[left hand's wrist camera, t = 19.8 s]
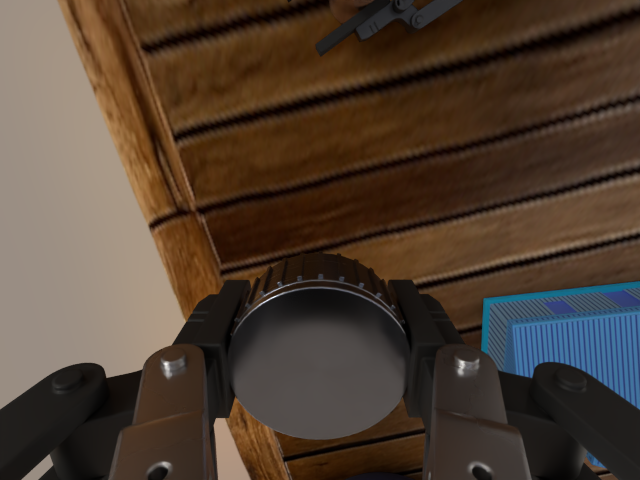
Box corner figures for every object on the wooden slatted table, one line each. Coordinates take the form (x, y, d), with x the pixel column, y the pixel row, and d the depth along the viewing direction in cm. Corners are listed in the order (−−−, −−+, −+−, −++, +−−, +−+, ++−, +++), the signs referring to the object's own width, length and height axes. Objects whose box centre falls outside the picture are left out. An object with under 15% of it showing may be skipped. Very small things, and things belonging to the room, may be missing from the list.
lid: (342, 408, 12) (346, 466, 10) (213, 344, 11) (190, 394, 9) (430, 300, 11) (455, 344, 9) (291, 219, 10) (283, 246, 8)
